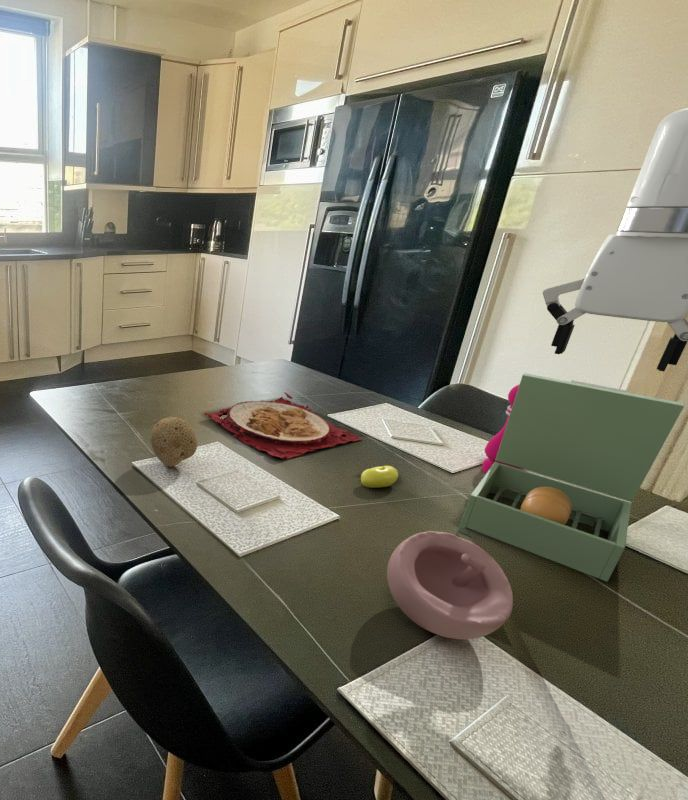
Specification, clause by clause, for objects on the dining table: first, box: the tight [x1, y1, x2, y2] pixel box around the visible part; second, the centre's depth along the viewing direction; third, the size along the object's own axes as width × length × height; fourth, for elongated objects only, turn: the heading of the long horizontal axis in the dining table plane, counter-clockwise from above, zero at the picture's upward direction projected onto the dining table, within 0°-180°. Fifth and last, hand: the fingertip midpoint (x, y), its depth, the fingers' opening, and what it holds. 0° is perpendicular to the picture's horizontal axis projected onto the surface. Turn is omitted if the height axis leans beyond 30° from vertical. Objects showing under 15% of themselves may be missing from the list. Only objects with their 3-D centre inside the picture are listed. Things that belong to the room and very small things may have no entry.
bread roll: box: [519, 487, 572, 525], centre depth 73 cm, size 9×5×5 cm, turn 131°
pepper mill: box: [481, 383, 525, 474], centre depth 91 cm, size 7×7×20 cm
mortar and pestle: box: [386, 530, 514, 640], centre depth 58 cm, size 12×12×11 cm
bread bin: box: [457, 462, 633, 583], centre depth 75 cm, size 17×17×7 cm
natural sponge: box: [149, 416, 198, 468], centre depth 94 cm, size 9×9×10 cm
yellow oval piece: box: [360, 465, 399, 489], centre depth 89 cm, size 4×8×4 cm, turn 106°
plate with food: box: [204, 391, 363, 460], centre depth 112 cm, size 24×26×3 cm
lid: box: [496, 372, 686, 502], centre depth 75 cm, size 17×17×5 cm
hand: (607, 360), depth 65 cm, fingers open, 9 cm apart
